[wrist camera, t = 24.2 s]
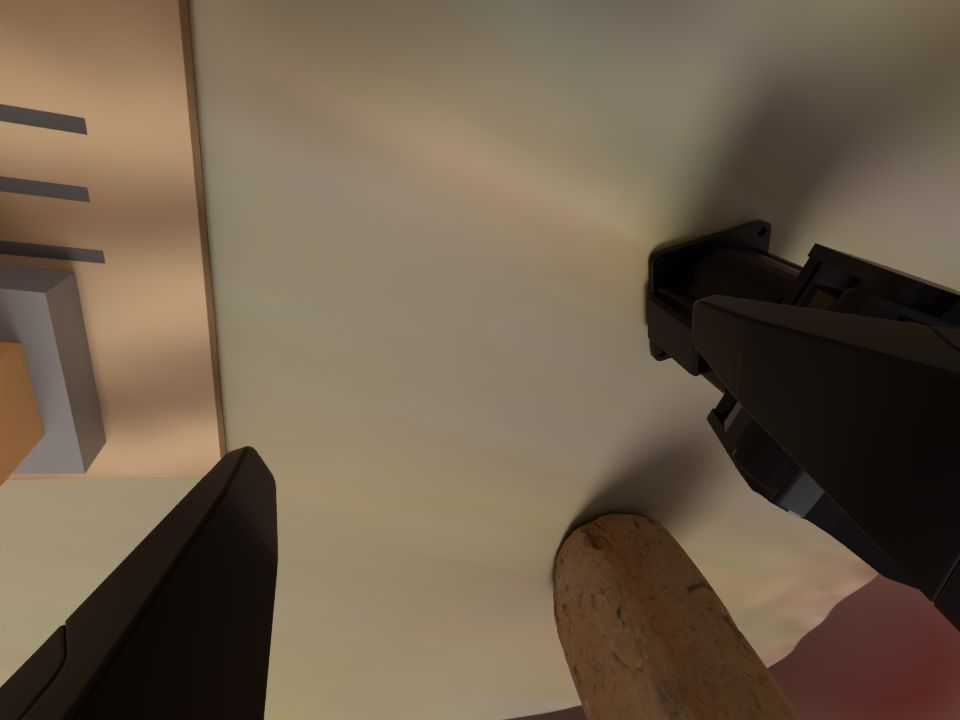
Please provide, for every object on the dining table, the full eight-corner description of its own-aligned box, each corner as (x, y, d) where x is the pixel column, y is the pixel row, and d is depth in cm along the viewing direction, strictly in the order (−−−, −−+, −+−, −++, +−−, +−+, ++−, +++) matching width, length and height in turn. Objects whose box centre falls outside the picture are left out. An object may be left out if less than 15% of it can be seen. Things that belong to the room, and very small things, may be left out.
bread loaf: (577, 502, 32) (820, 959, 15) (665, 503, 35) (957, 899, 18) (529, 601, 37) (675, 1030, 20) (609, 596, 39) (799, 975, 23)
